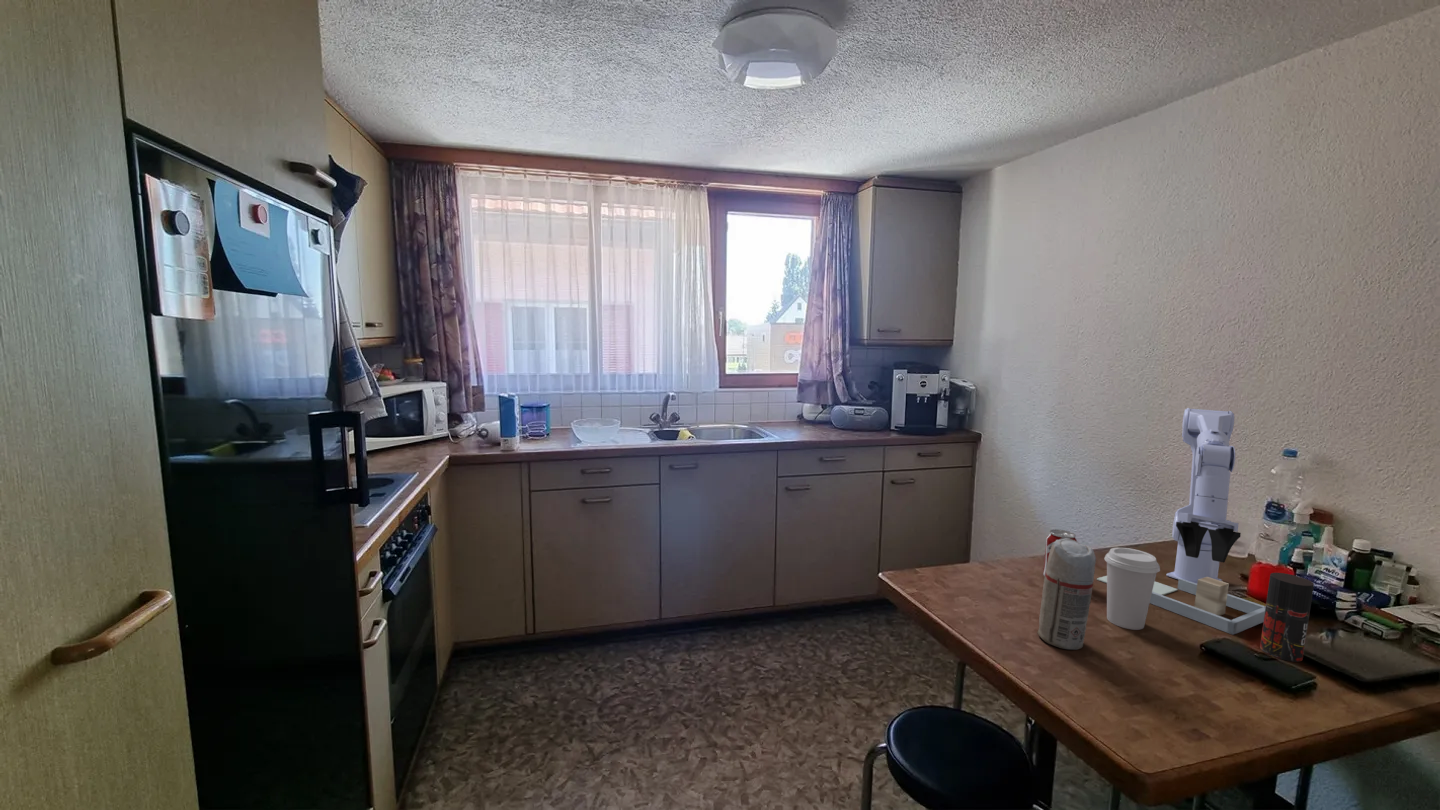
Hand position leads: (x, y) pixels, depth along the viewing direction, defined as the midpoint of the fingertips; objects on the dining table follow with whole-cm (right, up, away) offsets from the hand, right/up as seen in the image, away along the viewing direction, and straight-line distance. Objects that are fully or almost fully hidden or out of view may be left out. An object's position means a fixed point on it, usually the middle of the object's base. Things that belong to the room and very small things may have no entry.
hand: (1205, 559), depth 128 cm
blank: (+2, -12, +1) cm, 12 cm away
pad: (-5, -10, +14) cm, 18 cm away
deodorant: (+1, -14, -16) cm, 21 cm away
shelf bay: (+1, -12, +2) cm, 12 cm away
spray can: (-40, -13, -13) cm, 44 cm away
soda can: (-23, -10, +16) cm, 30 cm away
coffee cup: (-21, -12, -5) cm, 25 cm away
